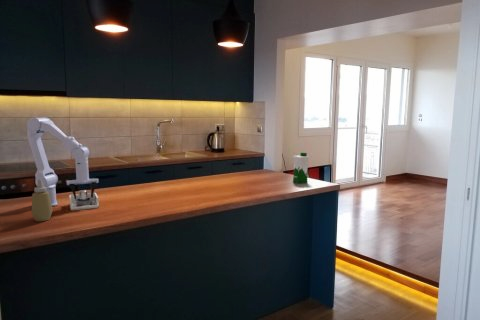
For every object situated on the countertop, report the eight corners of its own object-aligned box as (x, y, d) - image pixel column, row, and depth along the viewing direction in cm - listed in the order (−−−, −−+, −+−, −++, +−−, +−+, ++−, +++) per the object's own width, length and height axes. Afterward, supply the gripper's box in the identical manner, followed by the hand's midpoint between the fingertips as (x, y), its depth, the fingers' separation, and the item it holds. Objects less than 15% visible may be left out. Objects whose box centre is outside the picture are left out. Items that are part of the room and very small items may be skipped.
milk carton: (309, 183, 245) (310, 153, 242) (298, 184, 241) (298, 154, 238) (301, 180, 252) (302, 152, 250) (290, 181, 249) (291, 152, 246)
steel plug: (80, 205, 181) (79, 192, 180) (79, 204, 184) (79, 190, 183) (88, 205, 182) (87, 191, 181) (87, 203, 185) (86, 189, 184)
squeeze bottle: (56, 217, 165) (53, 177, 162) (47, 222, 157) (44, 181, 154) (38, 217, 164) (35, 177, 162) (28, 222, 156) (25, 181, 154)
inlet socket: (76, 207, 178) (76, 202, 178) (76, 203, 185) (75, 198, 184) (92, 205, 181) (91, 200, 181) (90, 202, 188) (90, 197, 187)
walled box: (70, 210, 175) (70, 200, 174) (69, 204, 186) (69, 195, 185) (98, 207, 180) (98, 197, 180) (96, 201, 191) (95, 192, 191)
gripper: (66, 173, 174) (68, 201, 176) (98, 171, 180) (100, 198, 182) (65, 171, 180) (67, 198, 182) (97, 169, 187) (98, 195, 188)
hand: (83, 197), depth 183 cm, fingers open, 7 cm apart
